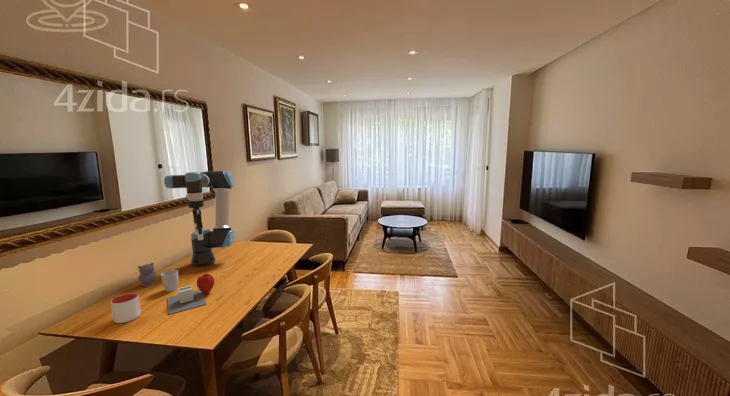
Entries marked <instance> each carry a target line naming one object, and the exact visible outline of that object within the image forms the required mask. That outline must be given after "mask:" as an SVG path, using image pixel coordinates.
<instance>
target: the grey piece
mask: <svg viewBox="0 0 730 396" xmlns="http://www.w3.org/2000/svg"><path fill="white" fill-rule="evenodd" d="M193 299H194V300H193V301H189V302H185V303H181V304H180V301H179V294H176V295H173V296H169V297H167V313H168V315H169V316H170V315H173V314H174V315H175V314H176V313H181V312H184V311H187V310H191V309H195V308H199V307H200V308H201V307H203V306H206V305H207V302H206V299H205V294H204V293H203V292H202V291H200V290H199V289H198V290H193Z"/></svg>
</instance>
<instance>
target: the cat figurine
mask: <svg viewBox="0 0 730 396" xmlns="http://www.w3.org/2000/svg"><path fill="white" fill-rule="evenodd" d="M137 268H138V271H139V272H138V273H140V274H139V276H138V281H140V283H141V286H142V287H150V286H153V285H155V284H156V280H155V279H156V277H157V273H156V272H155V267H154V262H151V263H146V264H143V265H142V266H140V265H138V266H137ZM154 283H155V284H154ZM152 284H153V285H152ZM149 285H150V286H149Z"/></svg>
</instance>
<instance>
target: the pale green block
mask: <svg viewBox="0 0 730 396" xmlns="http://www.w3.org/2000/svg"><path fill="white" fill-rule="evenodd" d="M193 291H194V290H193V286H192V284H191V285H186V286H182V287H177V293H178V295H179V301H180V304H181V303H185V302H189V301H193V300H194V299H193Z"/></svg>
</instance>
